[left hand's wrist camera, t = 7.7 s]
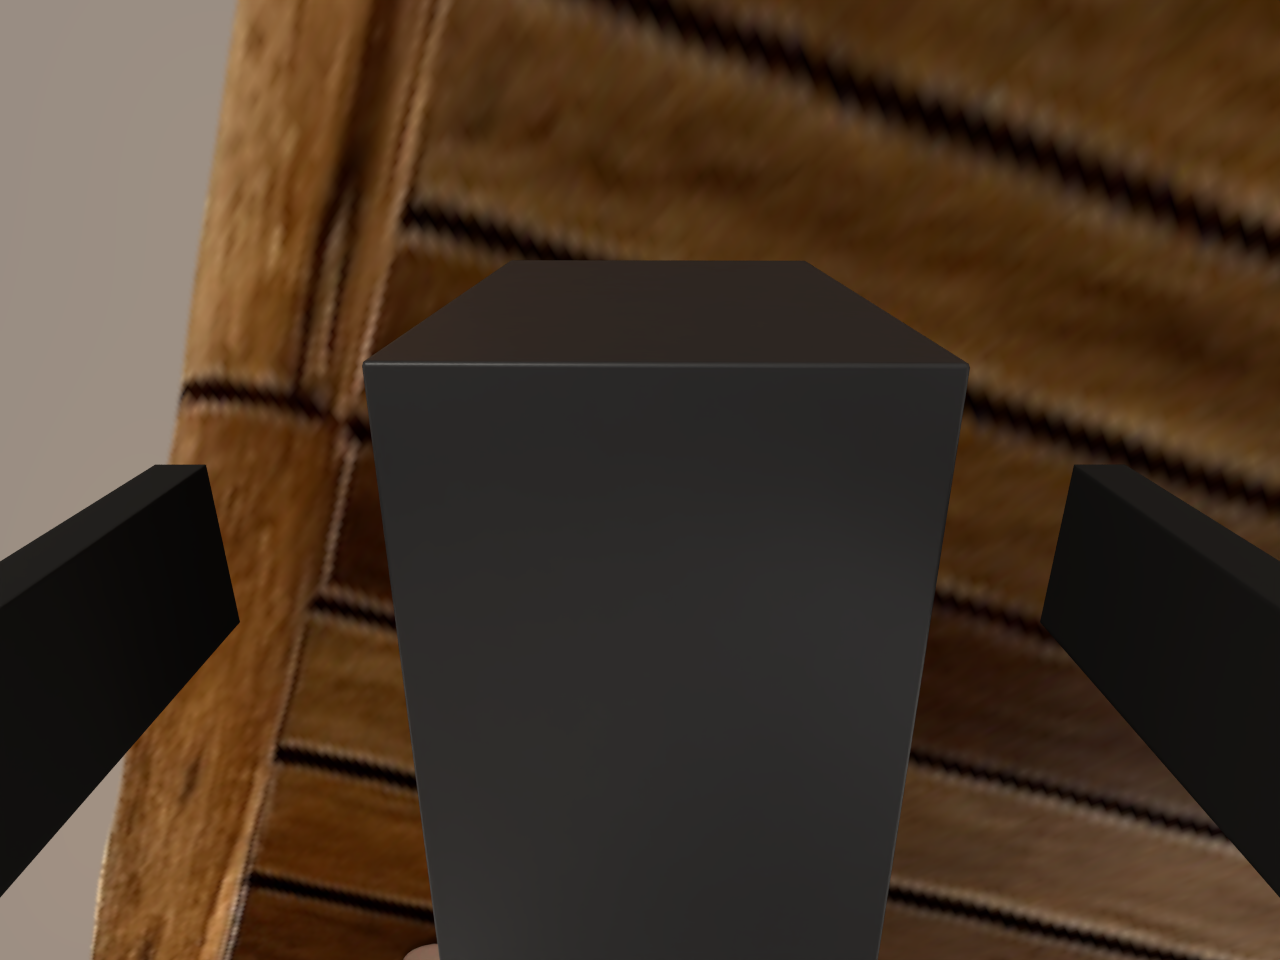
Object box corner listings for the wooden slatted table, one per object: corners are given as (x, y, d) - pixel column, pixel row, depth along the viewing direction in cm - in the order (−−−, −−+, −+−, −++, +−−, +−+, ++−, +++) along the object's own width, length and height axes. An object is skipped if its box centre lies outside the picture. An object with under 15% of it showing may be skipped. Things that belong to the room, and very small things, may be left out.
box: (510, 259, 16) (358, 361, 8) (806, 260, 16) (972, 363, 8) (552, 1005, 24) (501, 1444, 16) (750, 1008, 24) (802, 1450, 16)
